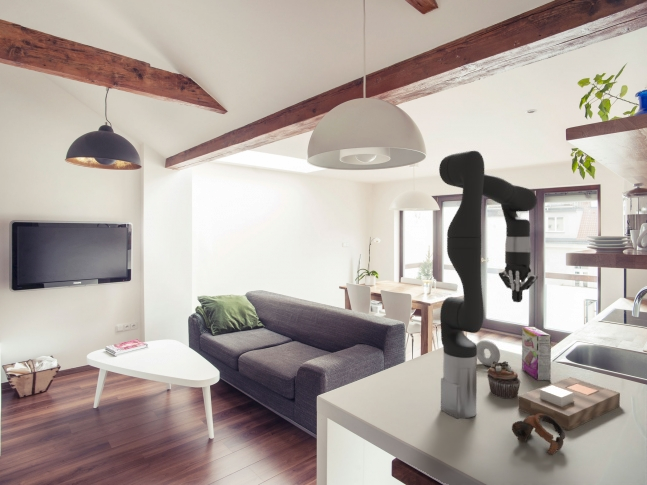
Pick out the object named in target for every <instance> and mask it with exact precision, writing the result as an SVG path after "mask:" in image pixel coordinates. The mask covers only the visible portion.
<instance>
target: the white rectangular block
mask: <svg viewBox="0 0 647 485" xmlns="http://www.w3.org/2000/svg"><path fill="white" fill-rule="evenodd" d="M540 399H543V400H546V401H548V402H551V403H553V404H556V405H558V406H561V407H563V406H565V405H568V404H570V403H572V402H573V392H570V391H567V390H564V389H561V388H558V387H556V386H553V385H551V386H548V387H546V388H543V389H540Z"/></svg>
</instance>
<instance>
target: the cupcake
mask: <svg viewBox="0 0 647 485" xmlns="http://www.w3.org/2000/svg"><path fill="white" fill-rule="evenodd" d="M486 378H487V381H488V385H489V390H490V392H491V394H493V396H495V397H498V398H502V399H508V400H509V399H510V400H511V399H512V400H513V399H516V398H517V397H518V396H519V395H518V394H519V390H520V386H521V384H522V383H521V380H520V379H519V374H518V373H517V371H516V370H515V369H513V368H512V367H511V366H510V365H509V362H508V361H503V362H498V363H497V362H495V361H493V363H492V364H491V366H489V367H488V369H487V377H486Z"/></svg>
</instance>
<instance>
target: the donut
mask: <svg viewBox="0 0 647 485" xmlns="http://www.w3.org/2000/svg"><path fill="white" fill-rule="evenodd" d="M476 346H477V361H479V363H481V364H482V365H484V366H487V367H492V366H491V364H492V363H493V361H495V362H497V363H499V361H500V357H501V352H500V349H499V348H498V346H497V345H496V344H495V343H494V342H493V341H491V340H488V339H483V340H480V341H478V342H477V343H476ZM485 350H488V351H489V353H490V355H489V356H487V355H486V354H485Z"/></svg>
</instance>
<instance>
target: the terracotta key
mask: <svg viewBox="0 0 647 485" xmlns="http://www.w3.org/2000/svg"><path fill="white" fill-rule="evenodd" d="M567 389H570V390H573V391H576V392H579V393H582V394H585V395H588V396H589V395H591V394H594V393H596V392H598V390H595V389H591V388H588V387H585V386H582V385H579V384H575V385H572V386H569V387H567Z"/></svg>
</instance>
